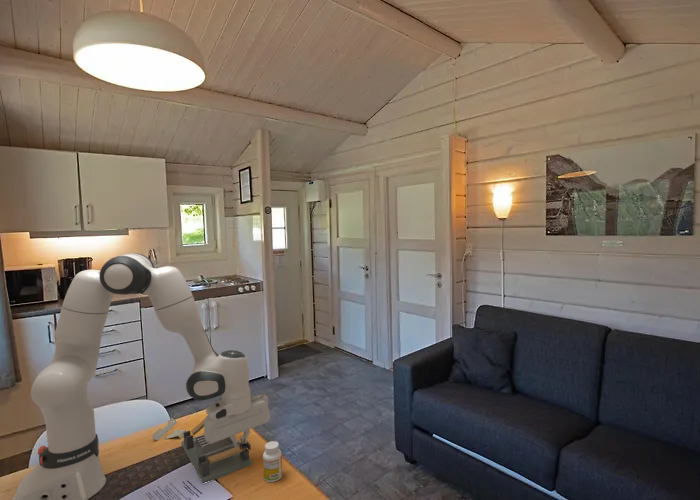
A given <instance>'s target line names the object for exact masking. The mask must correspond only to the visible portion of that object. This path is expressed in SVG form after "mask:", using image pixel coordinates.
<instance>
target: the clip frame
mask: <svg viewBox="0 0 700 500" xmlns="http://www.w3.org/2000/svg"><path fill="white" fill-rule="evenodd" d="M193 438H194V435H193V434H191V430H187V431H186V432H184V437H183V441H184V444H185V446H186V448H187V449H190V448H193V447H194V442H193ZM246 444H247V448H246V451H243V452H240V455H241V456H242V457H243V459H244V460H247V459H249V457H250V451H251V450H252V448H251V447H252V446H251V444H250V442H249V441H248V440H247V443H246ZM198 466H199V471H200V473H201V475H202V477H205V476H207V475H210V469H209V461H206V456H205V455H203V456H200V457H198Z"/></svg>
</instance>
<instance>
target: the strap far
mask: <svg viewBox="0 0 700 500" xmlns="http://www.w3.org/2000/svg"><path fill="white" fill-rule="evenodd" d="M205 419H206V417H205V418H204V419H203V420H201V422H199V423H198V424H197V425H196V426H195V427H193V428H192V429H191V430H190V433H191V435H193V436H195V435H197V433H198V432H200V431H201V430H202V429H204V423H205Z"/></svg>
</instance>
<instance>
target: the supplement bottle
mask: <svg viewBox="0 0 700 500" xmlns="http://www.w3.org/2000/svg"><path fill="white" fill-rule="evenodd" d="M279 445H280V444H279V442H278V441H275V440H274V441H273V440H271V441H269V442H267V443H265V445H264V452H263V454H262V464H263V465H262V467H263V478H264V481H265V482H268V483H274V482H277V481H279V480H281V478H282V477H283V460H282V459H283V458H282V457H283V455H282V450H281V449H280V446H279Z"/></svg>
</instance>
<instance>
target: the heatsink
mask: <svg viewBox="0 0 700 500" xmlns="http://www.w3.org/2000/svg"><path fill="white" fill-rule="evenodd" d="M195 437H196V452H197V454H198V455H199V457H200V456H203V455H205V456H206V461H208V457H210V456H213V455H216V454H218V453H221V452H224V451H227V450H230V449H232V448H234V446H233V441H232V440H231V439H230V437H228V438H225V439H223V440H220V441H218V442H215V443H212V444H209V443H208V442H207V441H206V440H205V437H204V433H203V434H201V435H197V436H195Z"/></svg>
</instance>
